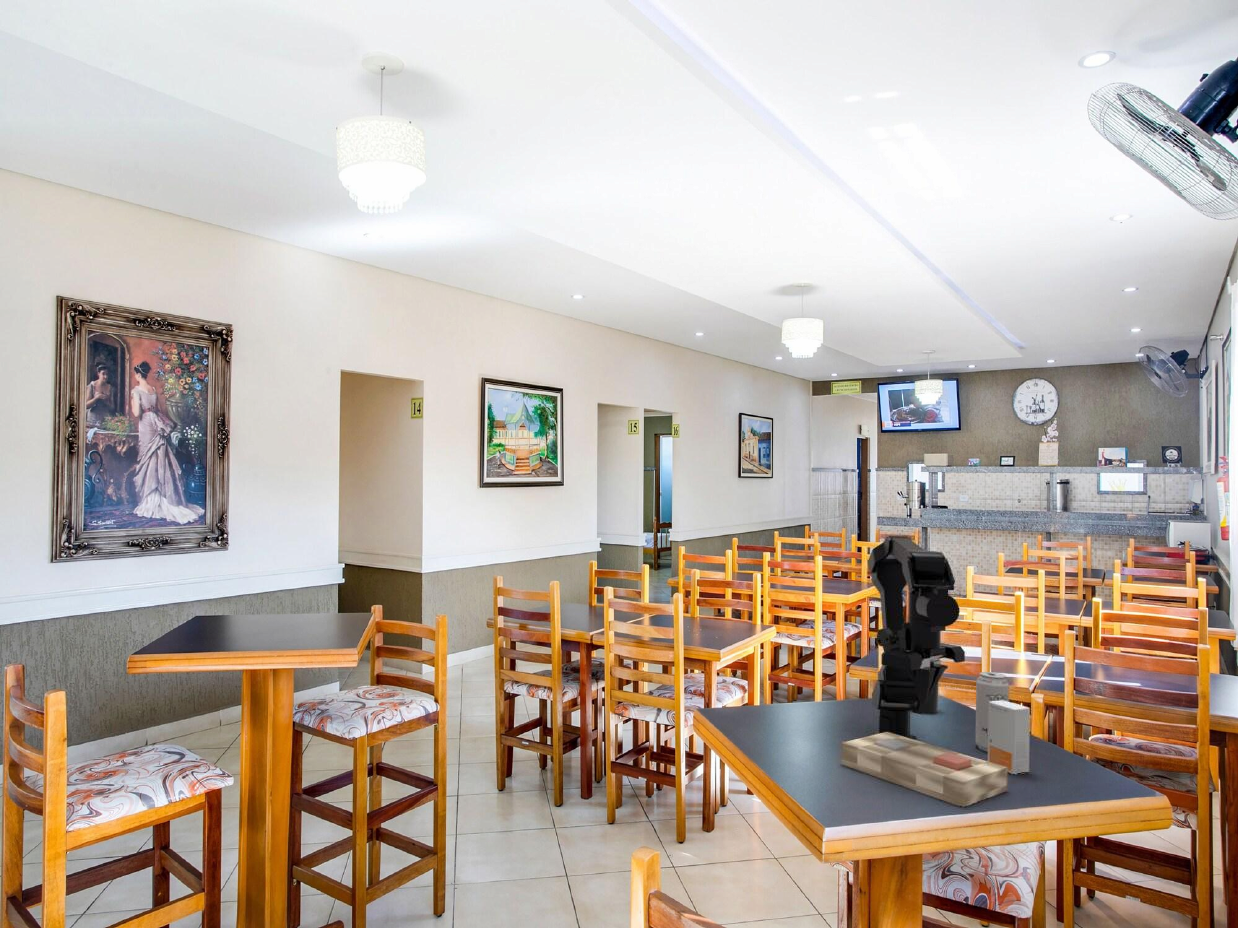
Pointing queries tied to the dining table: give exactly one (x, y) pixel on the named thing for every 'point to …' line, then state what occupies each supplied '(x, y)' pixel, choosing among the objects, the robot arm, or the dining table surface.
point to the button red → (952, 761)
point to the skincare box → (1009, 735)
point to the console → (925, 769)
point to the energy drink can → (986, 691)
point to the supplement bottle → (930, 703)
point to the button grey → (892, 744)
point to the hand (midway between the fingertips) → (923, 702)
